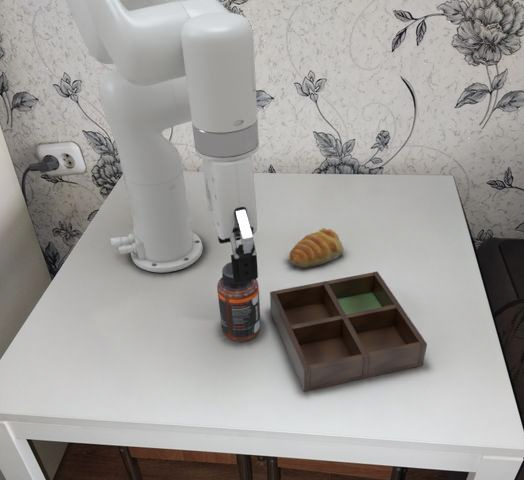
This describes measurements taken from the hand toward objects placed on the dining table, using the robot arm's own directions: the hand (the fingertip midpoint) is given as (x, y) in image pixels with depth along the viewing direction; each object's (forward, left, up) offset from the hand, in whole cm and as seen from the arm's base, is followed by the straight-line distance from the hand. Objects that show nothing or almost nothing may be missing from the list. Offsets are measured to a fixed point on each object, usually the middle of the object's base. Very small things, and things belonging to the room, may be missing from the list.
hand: (237, 259), depth 80 cm
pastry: (+17, +15, -13) cm, 27 cm away
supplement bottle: (0, 0, -13) cm, 13 cm away
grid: (+14, -6, -13) cm, 20 cm away
